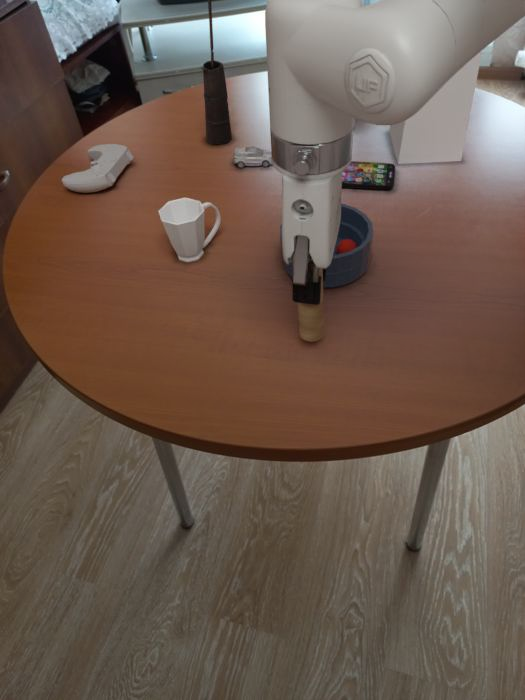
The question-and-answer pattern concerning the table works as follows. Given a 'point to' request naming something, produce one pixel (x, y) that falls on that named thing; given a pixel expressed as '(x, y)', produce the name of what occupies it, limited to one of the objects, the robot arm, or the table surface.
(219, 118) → the butter churn
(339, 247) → the ball
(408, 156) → the milk
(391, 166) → the smartphone
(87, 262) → the table surface
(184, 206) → the cup
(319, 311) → the stick
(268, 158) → the toy car
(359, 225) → the bowl
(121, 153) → the game controller
